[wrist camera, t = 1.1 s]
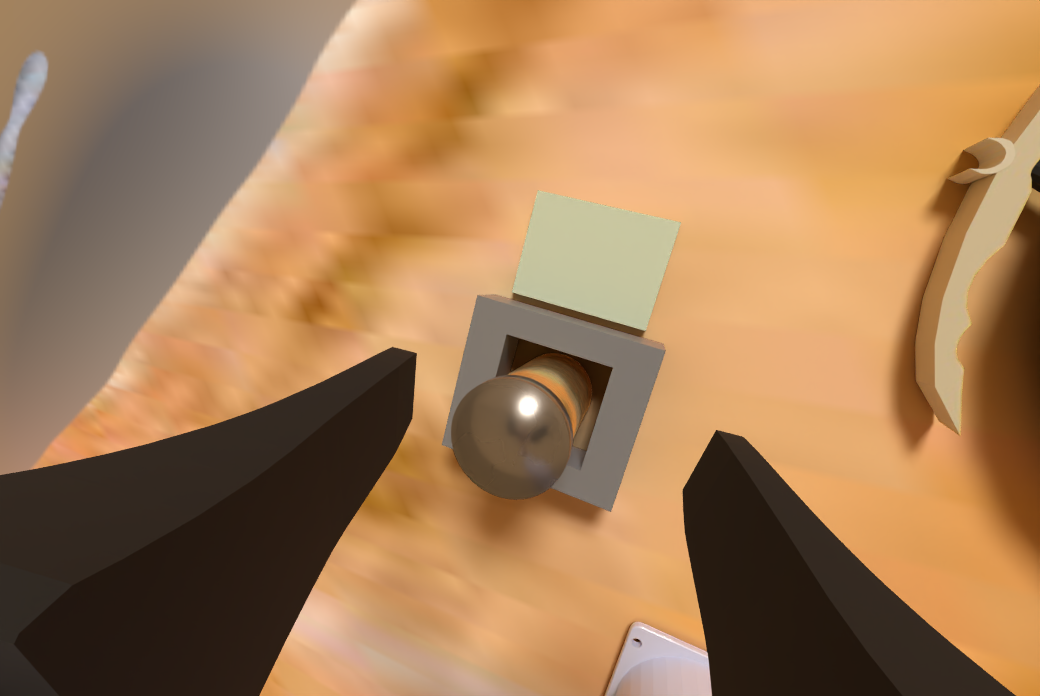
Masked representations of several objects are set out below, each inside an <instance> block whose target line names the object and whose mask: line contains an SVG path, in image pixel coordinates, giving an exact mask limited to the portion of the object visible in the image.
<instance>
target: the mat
mask: <svg viewBox="0 0 1040 696" xmlns="http://www.w3.org/2000/svg"><path fill="white" fill-rule="evenodd" d="M680 224H681V222H677V221H672V220H668V219H663V218H659V217H655V216H650V215H646V214H641V213H637V212H632V211H628V210H623V209H619V208H614V207H610V206H606V205H601V204H597V203H592V202H588V201H583V200H579V199H574V198H570V197H565V196H561V195H556V194H552V193H548V192H543V191H539V190H538V192H537V196H536V200H535V204H534V208H533V211H532V215H531V219H530V223H529V227H528V231H527V235H526V239H525V243H524V247H523V251H522V255H521V259H520V262H519V266H518V270H517V274H516V278H515V282H514V286H513V290H512V292H513V293H516V294H519V295H523V296H526V297H530V298H533V299H537V300H540V301H544V302H547V303H551V304H554V305H558V306H561V307H564V308H568V309H571V310H575V311H578V312H582V313H585V314H589V315H592V316H596V317H599V318H603V319H606V320H610V321H613V322H616V323H620V324H623V325H627V326H630V327H634V328H637V329H641V330H644V331H646V328H647V325H648V322H649V319H650V316H651V313H652V310H653V307H654V304H655V301H656V298H657V295H658V291H659V288H660V285H661V282H662V279H663V276H664V273H665V270H666V267H667V264H668V261H669V258H670V255H671V252H672V249H673V245H674V242H675V239H676V236H677V233H678V230H679V227H680Z"/></svg>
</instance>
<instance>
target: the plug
mask: <svg viewBox="0 0 1040 696" xmlns="http://www.w3.org/2000/svg"><path fill="white" fill-rule="evenodd" d="M591 399H592V385H591V381H590V378H589V376H588V374H587V372H586V370H585V369H584V368H583V367H582V365H581V364H579V363H578V362H577V361H576V360H574V359H573V358H571V357H569V356H566V355H563V354H559V353H548V354H543V355H540V356H538V357H536V358H534V359H533V360H531V361H529V362H528V363H526V364H524V365H523V366H521V367H519V368H518V369H516V370H514V371H513V372H511V373H509V374H508V375H503V376H498V377H494V378H492V379H489V380H487V381H485V382H483V383H482V384H480V385H478V386H477V387H475V388H473V389H472V390H471V391H470V392H468V393H467V394H466V395H465V396H464V398H463V399H462V400H461V402H460V403H459V405H458V406H457V408H456V411H455V413H454V416H453V419H452V425H451V442H452V447H453V451H454V454H455V457H456V459H457V461H458V463H459V465H460V467H461V468H462V470H463V471H464V473H465V474H466V475H467V476H468V477H469V478H470V479H471V481H472V482H474V483H475V484H476V485H477V486H478V487H480V488H481V489H483V490H484V491H486V492H488V493H490V494H492V495H495V496H498V497H501V498H506V499H514V500H517V499H527V498H531V497H534V496H537V495H539V494H541V493H543V492H545V491H546V490H548V489H549V488H550V487H552V486H553V485H554V484H555V483H556V481H557V480H558V479H559V478H560V476H561V475H562V473H563V471H564V469H565V467H566V465H567V463H568V460H569V458H570V455H571V452H572V447H573V438H574V436H575V434H576V432H577V430H578V428H579V426H580V424H581V422H582V420H583V418H584V416H585V414H586V412H587V410H588V408H589V406H590V403H591Z"/></svg>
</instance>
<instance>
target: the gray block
mask: <svg viewBox="0 0 1040 696" xmlns="http://www.w3.org/2000/svg"><path fill="white" fill-rule="evenodd" d="M519 338H520V339H524V340H527V341H530V342H533V343H536V344H539V345H543V346H546V347H549V348H552V349H555V350H559V351H562V352H565V353H568V354H571V355H574V356H578V357H581V358H584V359H587V360H590V361H593V362H597V363H600V364H603V365H606V366H609V367H613V369H612V372H611V376H610V379H609V382H608V385H607V388H606V391H605V395H604V398H603V401H602V404H601V407H600V410H599V414H598V417H597V420H596V423H595V426H594V429H593V433H592V436H591V439H590V442H589V445H588V448H587V451H584V450H582V449H579V448H576V447H574V446H573V447H572V452H571V455H570V458H569V460H568V463H567V465H566V467H565V469H564V471H563V473H562V475H561V476H560V478H559V479H558V480H557V481H556V483H555V484H554V485H553V486H552V487H550V488H552V489H555V490H557V491H560V492H562V493H565V494H567V495H570V496H572V497H575V498H577V499H580V500H582V501H585V502H588V503H590V504H593V505H595V506H598V507H600V508H603V509H605V510H608V511H610V512H611V510H612V507H613V504H614V501H615V498H616V495H617V492H618V490H619V487H620V484H621V481H622V478H623V475H624V472H625V469H626V466H627V463H628V460H629V457H630V454H631V451H632V448H633V445H634V442H635V439H636V437H637V434H638V431H639V428H640V425H641V422H642V419H643V416H644V413H645V410H646V407H647V404H648V401H649V398H650V395H651V392H652V389H653V386H654V383H655V381H656V378H657V375H658V372H659V369H660V366H661V363H662V360H663V357H664V354H665V351H666V350H665V347H664V344H662V343H659V342H655V341H652V340H648V339H645V338H642V337H638V336H635V335H631V334H628V333H625V332H621V331H618V330H614V329H611V328H607V327H604V326H601V325H597V324H594V323H590V322H587V321H584V320H580V319H577V318H573V317H570V316H567V315H563V314H560V313H556V312H553V311H549V310H546V309H543V308H539V307H536V306H532V305H529V304H526V303H522V302H519V301H515V300H512V299H509V298H505V297H502V296H498V295H477V299H476V304H475V308H474V312H473V316H472V320H471V325H470V329H469V333H468V337H467V341H466V346H465V350H464V354H463V358H462V362H461V367H460V371H459V375H458V379H457V383H456V387H455V392H454V396H453V400H452V404H451V408H450V413H449V417H448V421H447V425H446V429H445V434H444V438H443V442H442V445H444V446H446V447H449V448H451V449H453V447H452V442H451V425H452V419H453V416H454V413H455V411H456V408H457V406H458V405H459V403H460V402H461V400H462V399H463V398H464V396H465V395H466V394H467V393H468V392H470V391H471V390H472V389H473V388H475V387H477V386H478V385H480V384H482V383H483V382H485V381H487V380H489V379H492V378H494V377H498V376H503V375H508V374H509V373H510V371H511V367H512V363H513V359H514V355H515V352H516V348H517V344H518V340H519Z"/></svg>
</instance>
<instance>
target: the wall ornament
mask: <svg viewBox="0 0 1040 696" xmlns="http://www.w3.org/2000/svg"><path fill="white" fill-rule="evenodd" d="M963 151H966V152H968V153H970V154H972V155H973V156H975V157H976V158H977V160H978V162H979V167H978V169H967V170H965V171H963V172H961V173H958V174H956V175H954V176H951V177H949V178H947V179H949V180H951V181H953V182H955V183H958V184H967V183H971V182H972V183H971V185H970V187H969V189H968V190H967V193H966V195H965V197H964V199H963V201H962V203H961V205H960V207H959V209H958V211H957V213H956V215H955V217H954V219H953V221H952V223H951V225H950V227H949V229H948V231H947V233H946V235H945V237H944V239H943V242H942V245H941V248H940V250H939V253H938V256H937V259H936V262H935V265H934V267H933V270H932V273H931V276H930V279H929V282H928V285H927V287H926V290H925V293H924V296H923V299H922V305H921V311H920V316H919V322H918V328H917V334H916V340H915V368H916V382H917V384H918V385H919V387H920V389H921V391H922V392H923V394H924V396H925V398H926V399H927V401H928V403H929V405H930V406H931V408H932V410H933V411H934V413H935V415H936V417H937V418H938V420H939V421H940V422H941V423H942V424H944V425H945V426H947V427H948V428H950V429H951V430H952V431H954V432H955V433H957V434H958V435H959V436H961V409H962V388H963V377H964V367H963V366H962V364H961V363H960V361H959V360H958V358H957V346H958V343H959V340H960V338H961V336H962V335H963V334H964V332H965V331H966V330H967V329H968V328H969V327H970V326H971V325H972V323H971V319H970V316H969V313H968V309H967V300H968V291H969V289H970V286H971V284H972V282H973V280H974V277H975V275H976V274H977V273H978V271H979V270H980V269H981V268H982V266H983V265H984V264H985V263H986V261H987V260H988V259H989V258H990V257H992V256H993V255H994V254H995V253H996V252H997V251H999V250H1000V249H1001V248H1002V247H1003V246H1004V245H1005V243H1006V241H1007V240H1008V238H1009V236H1010V234H1011V232H1012V230H1013V228H1014V226H1015V224H1016V222H1017V220H1018V218H1019V216H1020V214H1021V212H1022V210H1023V208H1024V206H1025V204H1026V202H1027V200H1028V198H1029V196H1030V194H1031V192H1032V188H1033V189H1035V190H1037V191H1038V192H1040V85H1039V86H1038V88H1037V89H1036V90H1035V92H1034V93H1033V94H1032V96H1031V97H1030V99H1029V100H1028V101H1027V103H1026V104H1025V105H1024V107H1023V108H1022V110H1021V111H1020V112H1019V114H1018V115H1017V116H1016V118H1015V119H1014V121H1013V122H1012V123H1011V125H1010V126H1009V127H1008V129H1007V130H1006V131H1005V133H1004V134H1003V136H1002V137H1001V138H986V139H984V140H982V141H980V142H978V143H976V144H974V145H973V146H971V147H969V148H967V149H965V150H963Z"/></svg>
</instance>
